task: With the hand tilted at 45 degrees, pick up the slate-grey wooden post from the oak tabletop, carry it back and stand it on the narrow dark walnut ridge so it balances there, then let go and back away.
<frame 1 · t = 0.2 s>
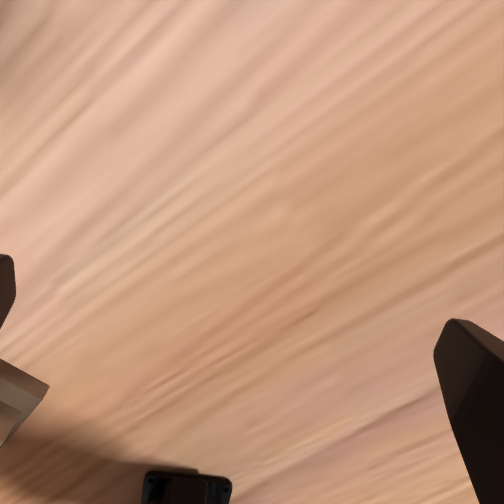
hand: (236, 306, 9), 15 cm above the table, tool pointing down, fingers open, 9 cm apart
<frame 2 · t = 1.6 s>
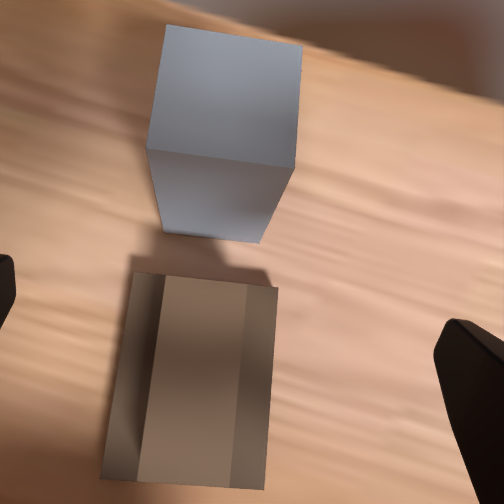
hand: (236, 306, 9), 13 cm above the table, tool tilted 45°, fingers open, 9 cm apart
walnut ridge: (195, 376, 22), on the table
slate post: (217, 194, 24), on the table
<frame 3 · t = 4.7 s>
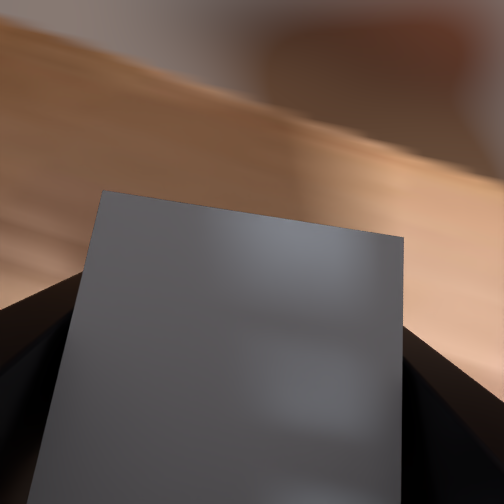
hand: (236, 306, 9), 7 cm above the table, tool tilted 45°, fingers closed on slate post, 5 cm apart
slate post: (212, 383, 15), on the table, touching gripper
when the fingers open (11 cm above the table, at t = 8.4 s): slate post stays where it is, resting on walnut ridge.
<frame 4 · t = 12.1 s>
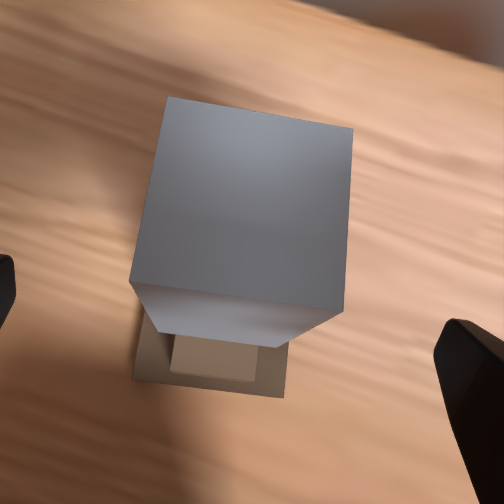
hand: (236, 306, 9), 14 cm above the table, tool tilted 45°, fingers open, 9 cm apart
walnut ridge: (220, 298, 23), on the table
slate post: (225, 282, 20), point 4 cm above the table, touching walnut ridge
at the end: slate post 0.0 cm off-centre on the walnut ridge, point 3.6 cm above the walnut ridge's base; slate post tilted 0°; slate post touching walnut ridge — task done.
